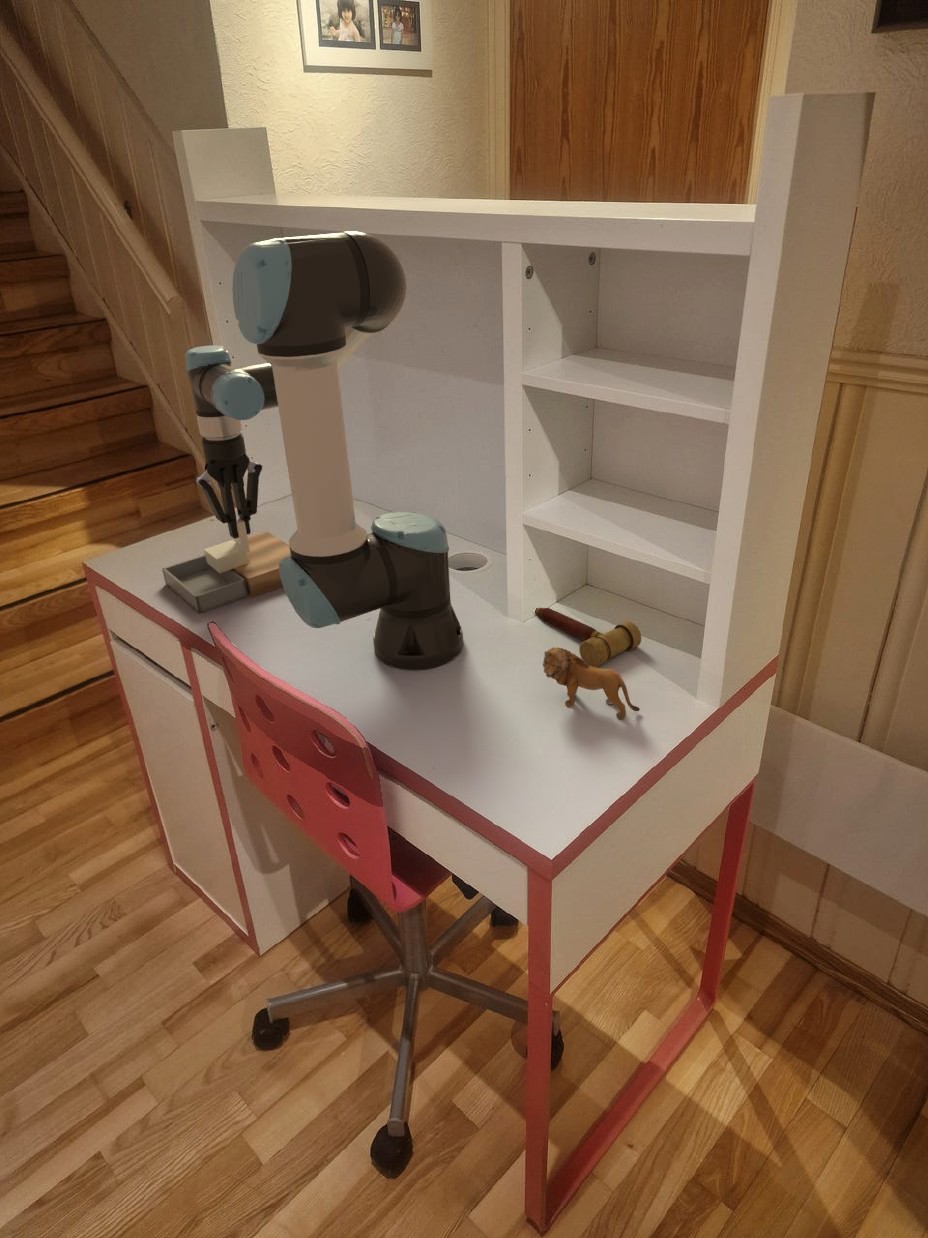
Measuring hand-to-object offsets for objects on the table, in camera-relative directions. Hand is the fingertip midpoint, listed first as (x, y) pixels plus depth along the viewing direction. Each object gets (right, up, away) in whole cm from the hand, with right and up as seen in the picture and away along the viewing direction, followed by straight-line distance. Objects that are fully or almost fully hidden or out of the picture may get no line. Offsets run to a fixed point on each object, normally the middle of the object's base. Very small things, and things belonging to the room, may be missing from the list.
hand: (243, 550), depth 167 cm
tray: (-7, -8, -2) cm, 11 cm away
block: (-3, -3, -1) cm, 4 cm away
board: (+2, -4, +4) cm, 6 cm away
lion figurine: (+62, -27, -40) cm, 78 cm away
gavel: (+63, -17, -22) cm, 68 cm away
